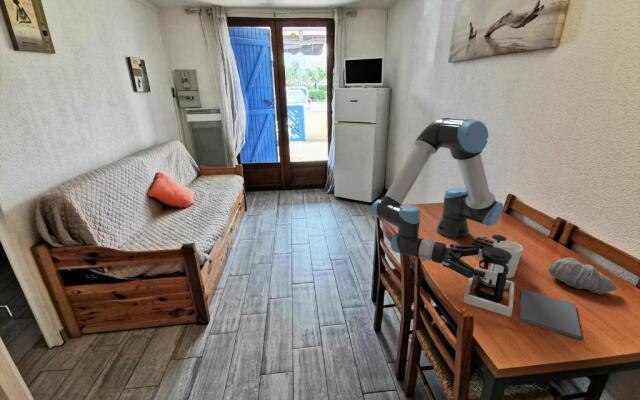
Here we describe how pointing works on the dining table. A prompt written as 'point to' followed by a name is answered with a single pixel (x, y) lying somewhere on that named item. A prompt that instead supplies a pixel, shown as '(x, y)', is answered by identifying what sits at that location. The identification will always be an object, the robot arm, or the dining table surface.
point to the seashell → (581, 276)
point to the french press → (494, 257)
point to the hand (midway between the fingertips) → (498, 266)
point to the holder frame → (489, 304)
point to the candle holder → (513, 262)
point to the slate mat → (549, 313)
